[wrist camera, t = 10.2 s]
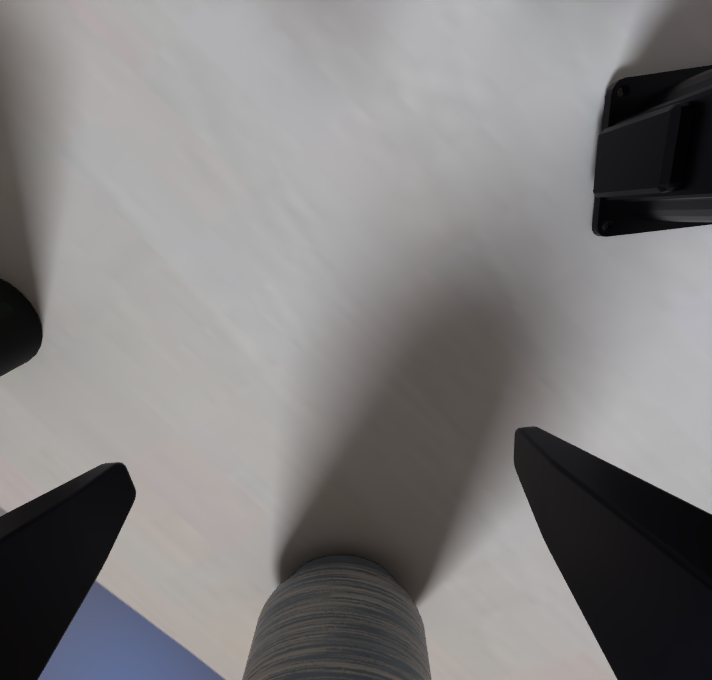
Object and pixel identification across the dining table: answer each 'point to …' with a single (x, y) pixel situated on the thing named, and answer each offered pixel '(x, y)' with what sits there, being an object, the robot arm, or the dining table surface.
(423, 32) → the dining table surface
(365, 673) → the vase
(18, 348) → the cup
